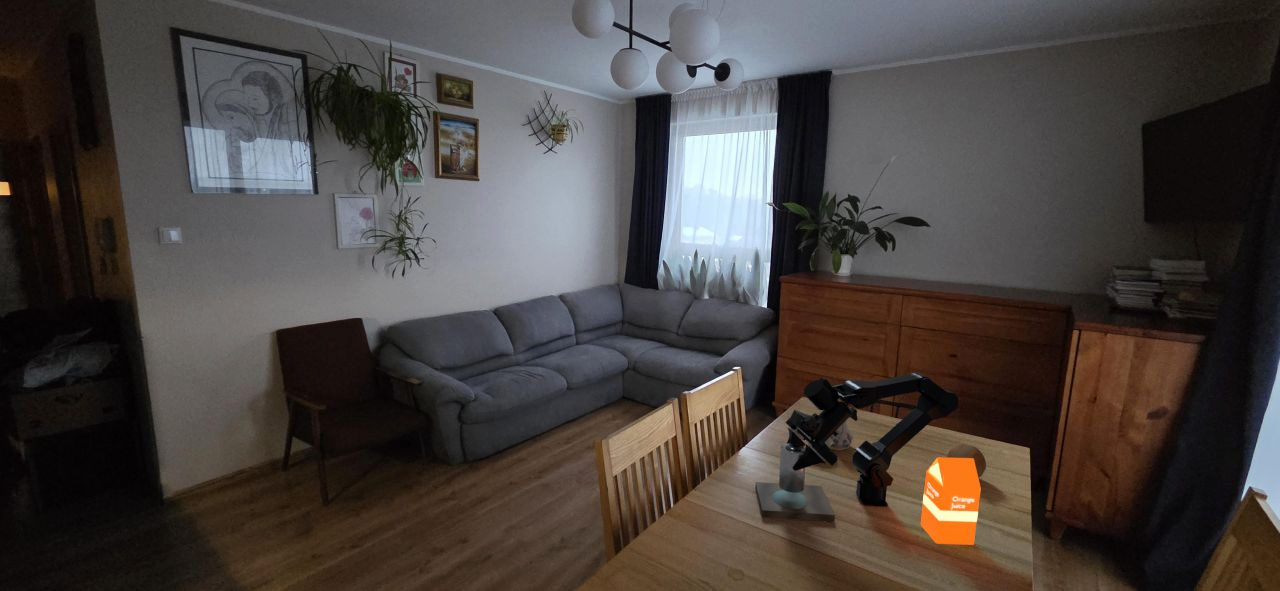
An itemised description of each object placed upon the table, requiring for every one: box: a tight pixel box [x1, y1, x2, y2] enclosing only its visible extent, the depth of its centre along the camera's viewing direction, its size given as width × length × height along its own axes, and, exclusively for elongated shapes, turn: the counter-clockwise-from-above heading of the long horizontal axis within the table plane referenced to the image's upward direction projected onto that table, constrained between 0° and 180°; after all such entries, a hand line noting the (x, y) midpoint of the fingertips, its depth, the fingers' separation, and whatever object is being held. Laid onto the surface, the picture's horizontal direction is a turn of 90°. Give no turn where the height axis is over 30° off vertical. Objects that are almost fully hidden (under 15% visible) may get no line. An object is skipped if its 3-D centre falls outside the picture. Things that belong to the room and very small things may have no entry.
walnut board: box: [754, 481, 836, 523], centre depth 138 cm, size 18×14×2 cm
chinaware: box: [805, 399, 854, 451], centre depth 174 cm, size 28×17×17 cm, turn 174°
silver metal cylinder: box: [778, 443, 806, 493], centre depth 135 cm, size 6×6×11 cm
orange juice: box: [920, 456, 982, 546], centre depth 124 cm, size 8×9×20 cm
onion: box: [946, 443, 987, 479], centre depth 152 cm, size 10×10×10 cm
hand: (787, 463), depth 135 cm, fingers closed on silver metal cylinder, 6 cm apart
